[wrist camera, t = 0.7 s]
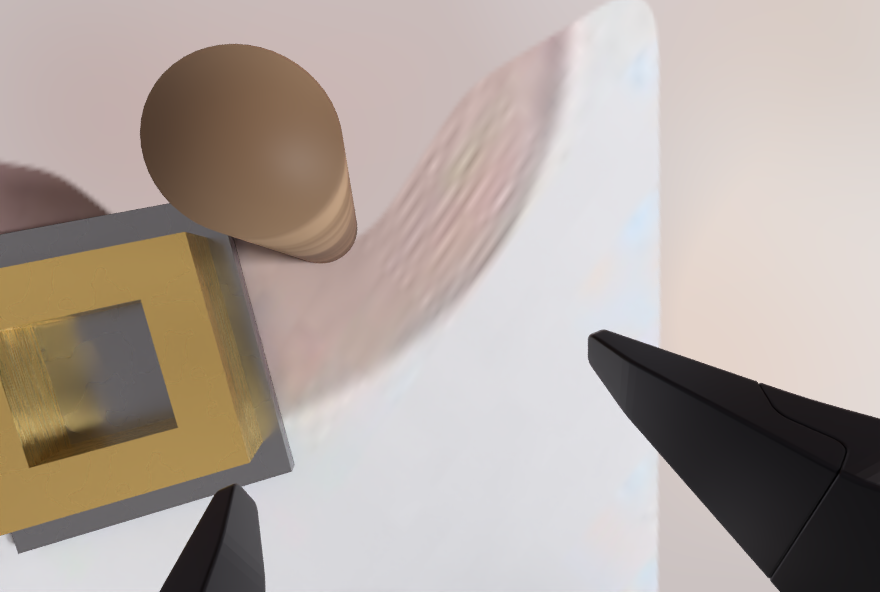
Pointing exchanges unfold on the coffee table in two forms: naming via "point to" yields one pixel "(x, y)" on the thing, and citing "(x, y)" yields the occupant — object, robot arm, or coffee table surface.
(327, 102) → the pin
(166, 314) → the socket
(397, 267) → the coffee table surface
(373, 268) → the coffee table surface
